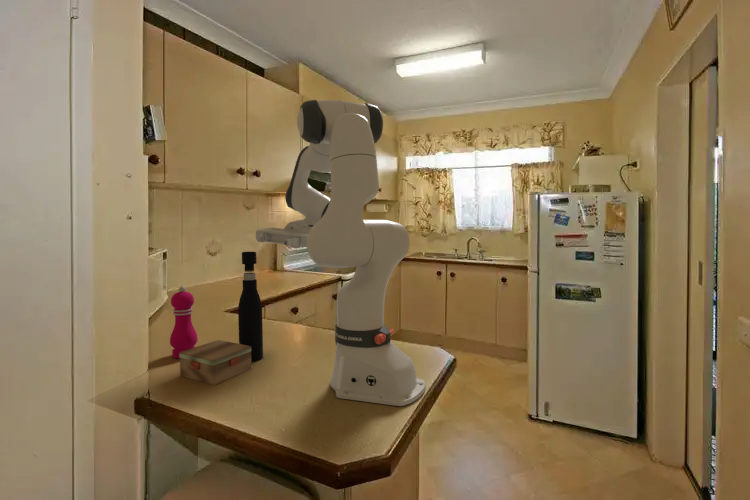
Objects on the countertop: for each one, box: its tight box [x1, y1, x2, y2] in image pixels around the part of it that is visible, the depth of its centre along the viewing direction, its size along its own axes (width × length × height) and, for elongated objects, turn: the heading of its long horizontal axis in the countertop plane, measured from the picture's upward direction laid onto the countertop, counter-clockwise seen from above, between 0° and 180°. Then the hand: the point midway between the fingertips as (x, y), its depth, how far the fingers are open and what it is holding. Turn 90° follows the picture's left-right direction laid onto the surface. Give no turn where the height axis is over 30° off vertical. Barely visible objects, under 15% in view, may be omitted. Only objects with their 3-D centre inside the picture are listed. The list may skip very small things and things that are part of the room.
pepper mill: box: [169, 285, 198, 360], centre depth 117 cm, size 7×7×20 cm
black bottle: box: [237, 251, 264, 363], centre depth 114 cm, size 6×6×30 cm
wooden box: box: [178, 339, 252, 386], centre depth 104 cm, size 13×13×6 cm
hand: (272, 241), depth 121 cm, fingers open, 8 cm apart
